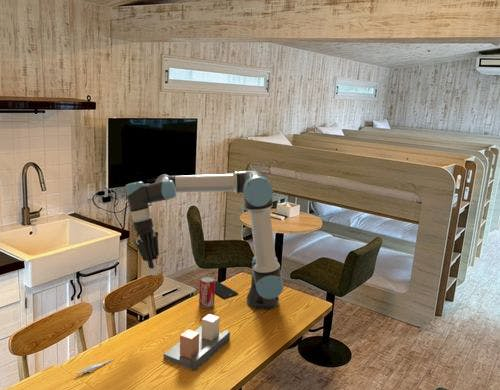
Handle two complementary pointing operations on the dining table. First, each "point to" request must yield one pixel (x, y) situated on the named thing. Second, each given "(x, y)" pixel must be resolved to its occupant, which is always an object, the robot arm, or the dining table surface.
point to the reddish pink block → (189, 343)
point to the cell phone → (224, 291)
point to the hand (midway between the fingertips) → (155, 274)
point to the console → (205, 351)
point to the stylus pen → (92, 367)
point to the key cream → (210, 327)
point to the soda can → (207, 292)
